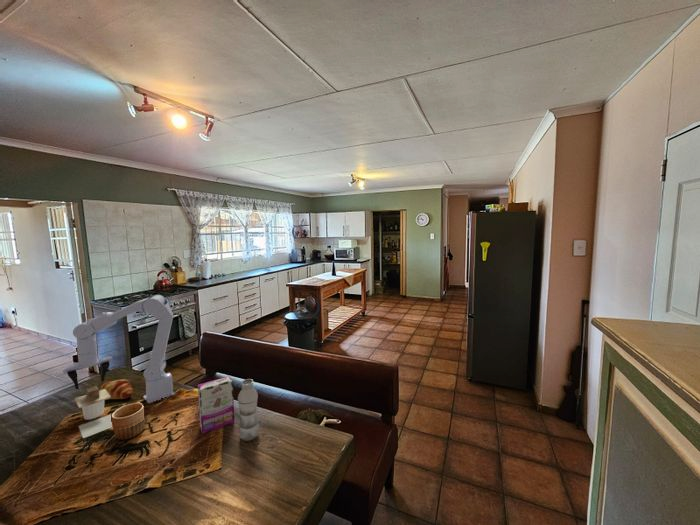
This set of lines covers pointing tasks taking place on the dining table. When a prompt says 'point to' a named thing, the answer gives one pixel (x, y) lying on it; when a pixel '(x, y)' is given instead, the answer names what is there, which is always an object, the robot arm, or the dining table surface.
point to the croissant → (118, 389)
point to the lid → (92, 396)
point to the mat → (95, 426)
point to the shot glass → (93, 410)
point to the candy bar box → (216, 404)
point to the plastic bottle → (248, 411)
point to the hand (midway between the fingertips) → (90, 384)
